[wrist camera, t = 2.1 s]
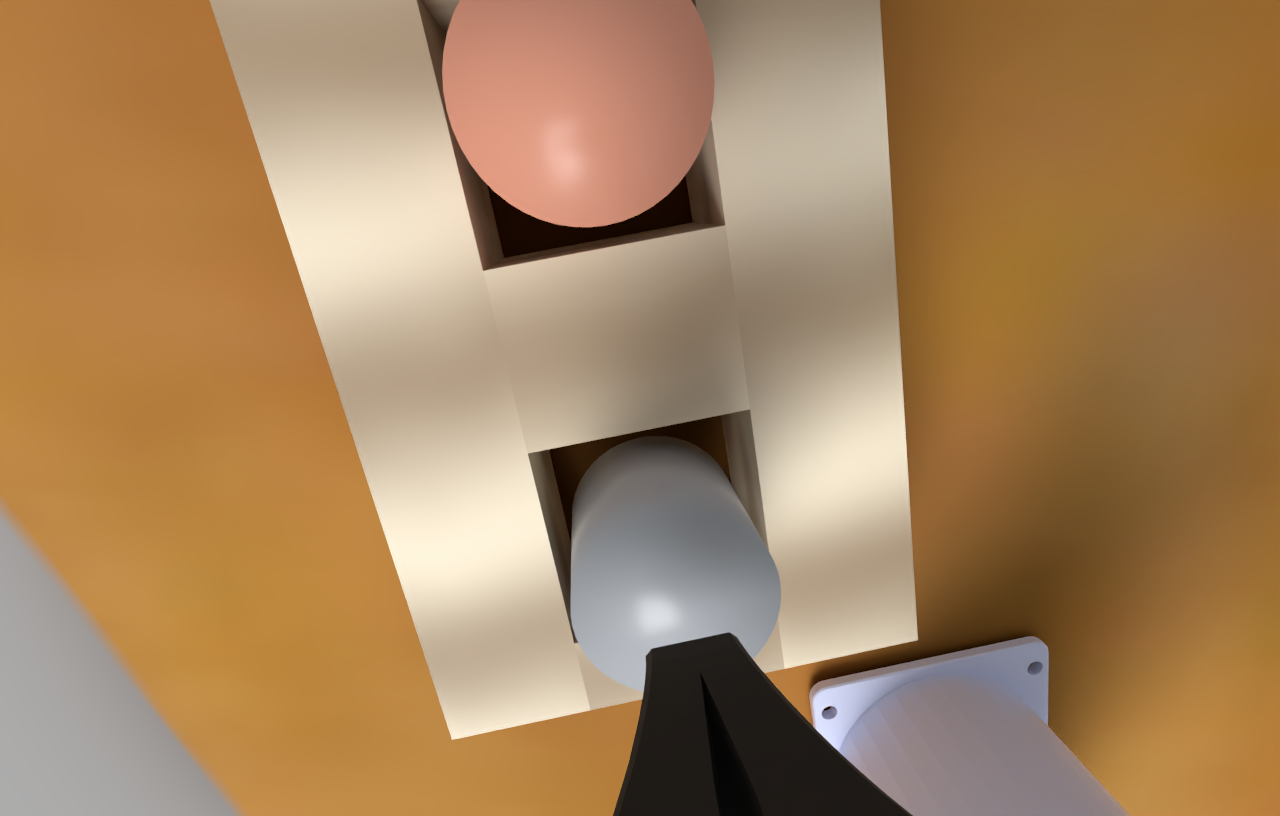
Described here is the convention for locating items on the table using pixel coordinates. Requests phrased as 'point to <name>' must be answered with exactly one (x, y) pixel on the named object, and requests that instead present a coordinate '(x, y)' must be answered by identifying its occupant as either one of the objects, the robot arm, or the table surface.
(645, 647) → the grey button
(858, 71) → the button panel
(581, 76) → the terracotta button
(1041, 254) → the table surface
